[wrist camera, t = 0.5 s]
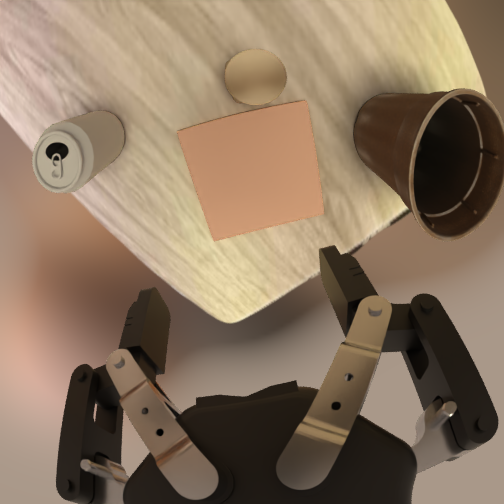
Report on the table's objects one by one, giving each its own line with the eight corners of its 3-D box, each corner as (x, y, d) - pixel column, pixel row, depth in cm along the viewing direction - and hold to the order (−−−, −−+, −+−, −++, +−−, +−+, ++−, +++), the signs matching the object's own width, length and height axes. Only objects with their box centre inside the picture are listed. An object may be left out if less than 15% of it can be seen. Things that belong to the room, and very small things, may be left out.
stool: (219, 62, 27) (218, 56, 21) (268, 52, 26) (279, 44, 21) (231, 107, 30) (232, 111, 25) (279, 96, 30) (292, 98, 24)
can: (128, 108, 28) (85, 121, 18) (126, 164, 32) (89, 200, 22) (77, 112, 27) (23, 129, 17) (78, 164, 31) (31, 200, 21)
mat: (177, 130, 31) (176, 131, 30) (304, 100, 30) (306, 100, 30) (213, 238, 40) (213, 241, 39) (322, 211, 39) (324, 213, 38)
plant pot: (400, 59, 27) (487, 65, 13) (443, 148, 34) (516, 188, 21) (316, 118, 32) (380, 146, 18) (374, 205, 39) (434, 267, 26)
